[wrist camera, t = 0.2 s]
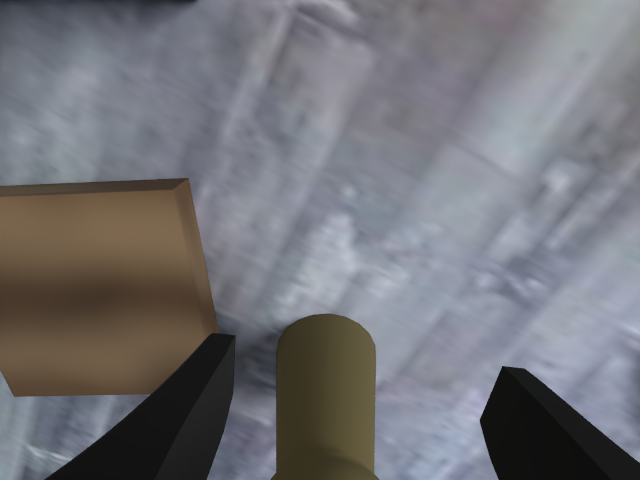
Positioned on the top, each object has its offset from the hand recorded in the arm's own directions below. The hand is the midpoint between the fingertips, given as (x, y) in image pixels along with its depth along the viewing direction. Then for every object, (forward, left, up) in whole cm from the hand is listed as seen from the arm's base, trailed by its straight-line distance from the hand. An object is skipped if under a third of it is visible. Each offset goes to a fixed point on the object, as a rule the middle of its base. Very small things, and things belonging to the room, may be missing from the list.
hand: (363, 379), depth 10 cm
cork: (-8, 0, -10) cm, 13 cm away
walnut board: (-5, +13, -11) cm, 18 cm away
